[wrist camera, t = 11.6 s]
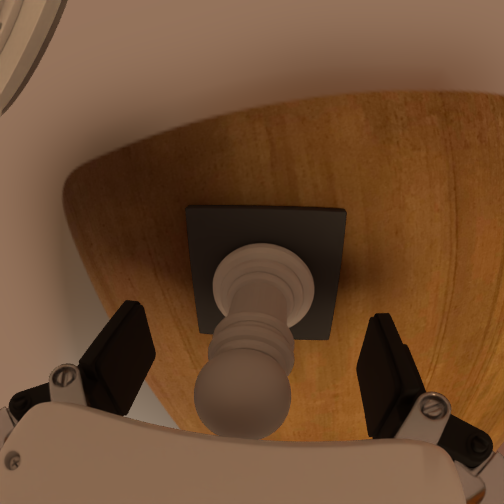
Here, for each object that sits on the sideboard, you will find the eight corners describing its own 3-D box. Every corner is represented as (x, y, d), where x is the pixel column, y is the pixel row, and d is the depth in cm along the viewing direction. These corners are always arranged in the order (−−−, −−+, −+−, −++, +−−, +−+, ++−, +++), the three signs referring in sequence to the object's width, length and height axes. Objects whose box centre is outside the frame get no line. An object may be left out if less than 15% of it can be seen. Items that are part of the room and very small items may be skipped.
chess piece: (224, 326, 17) (184, 460, 9) (206, 244, 15) (127, 373, 7) (315, 322, 16) (324, 465, 8) (310, 235, 14) (335, 376, 6)
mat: (188, 204, 15) (184, 207, 14) (344, 208, 14) (347, 211, 14) (201, 327, 18) (199, 333, 18) (327, 334, 17) (329, 340, 17)
